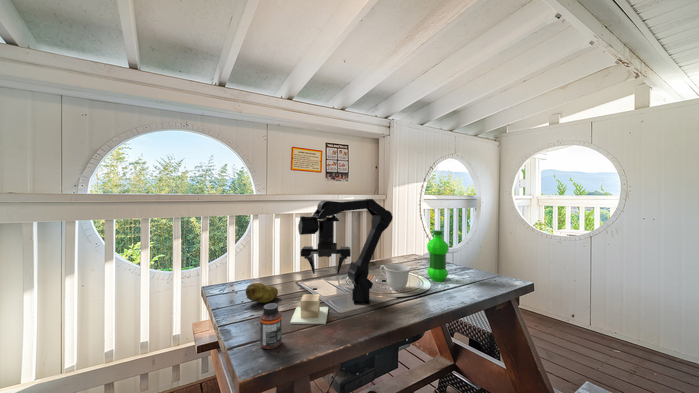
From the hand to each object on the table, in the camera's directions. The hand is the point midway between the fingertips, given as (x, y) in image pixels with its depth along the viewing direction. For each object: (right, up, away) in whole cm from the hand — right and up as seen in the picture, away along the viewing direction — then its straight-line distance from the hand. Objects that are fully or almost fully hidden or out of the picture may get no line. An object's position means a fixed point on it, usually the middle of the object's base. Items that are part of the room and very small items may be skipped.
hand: (326, 273), depth 103 cm
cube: (-5, -13, -7) cm, 15 cm away
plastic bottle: (+54, -13, +34) cm, 65 cm away
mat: (-5, -13, -7) cm, 16 cm away
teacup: (+30, -13, +21) cm, 39 cm away
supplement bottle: (-14, -14, -25) cm, 32 cm away
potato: (-26, -13, +5) cm, 30 cm away
